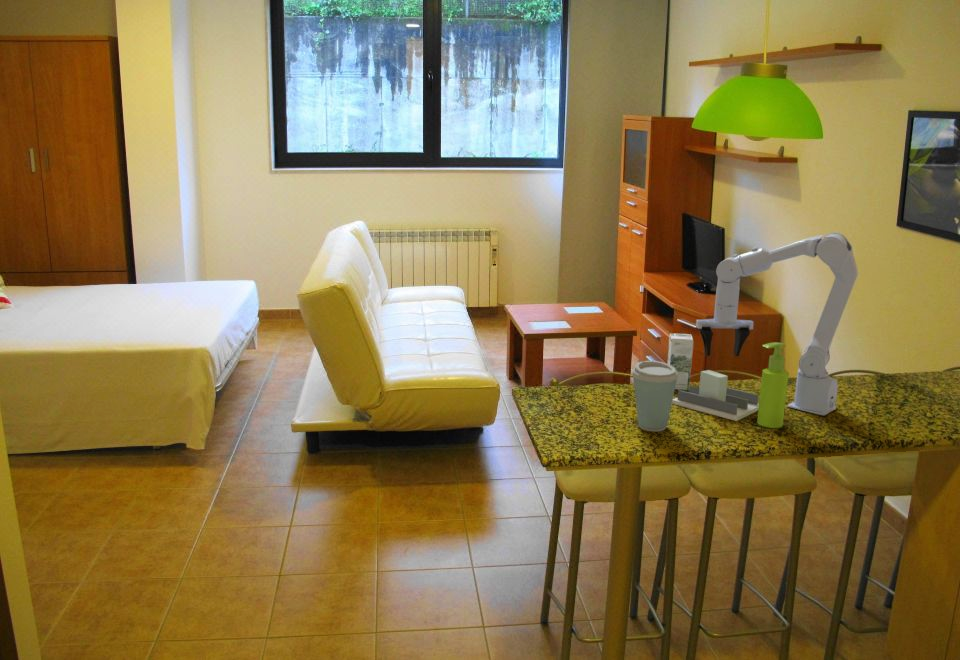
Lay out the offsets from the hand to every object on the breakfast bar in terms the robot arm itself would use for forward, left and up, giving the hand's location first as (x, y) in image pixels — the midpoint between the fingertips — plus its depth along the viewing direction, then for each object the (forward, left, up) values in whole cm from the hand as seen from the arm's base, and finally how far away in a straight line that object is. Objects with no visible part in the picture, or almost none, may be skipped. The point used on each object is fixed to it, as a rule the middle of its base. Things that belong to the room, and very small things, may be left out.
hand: (721, 355), depth 235 cm
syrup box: (+10, +4, -11) cm, 15 cm away
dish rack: (-5, +10, -10) cm, 15 cm away
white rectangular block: (-5, +13, -9) cm, 17 cm away
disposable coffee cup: (-2, +36, -11) cm, 38 cm away
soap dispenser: (-20, +13, -11) cm, 26 cm away
